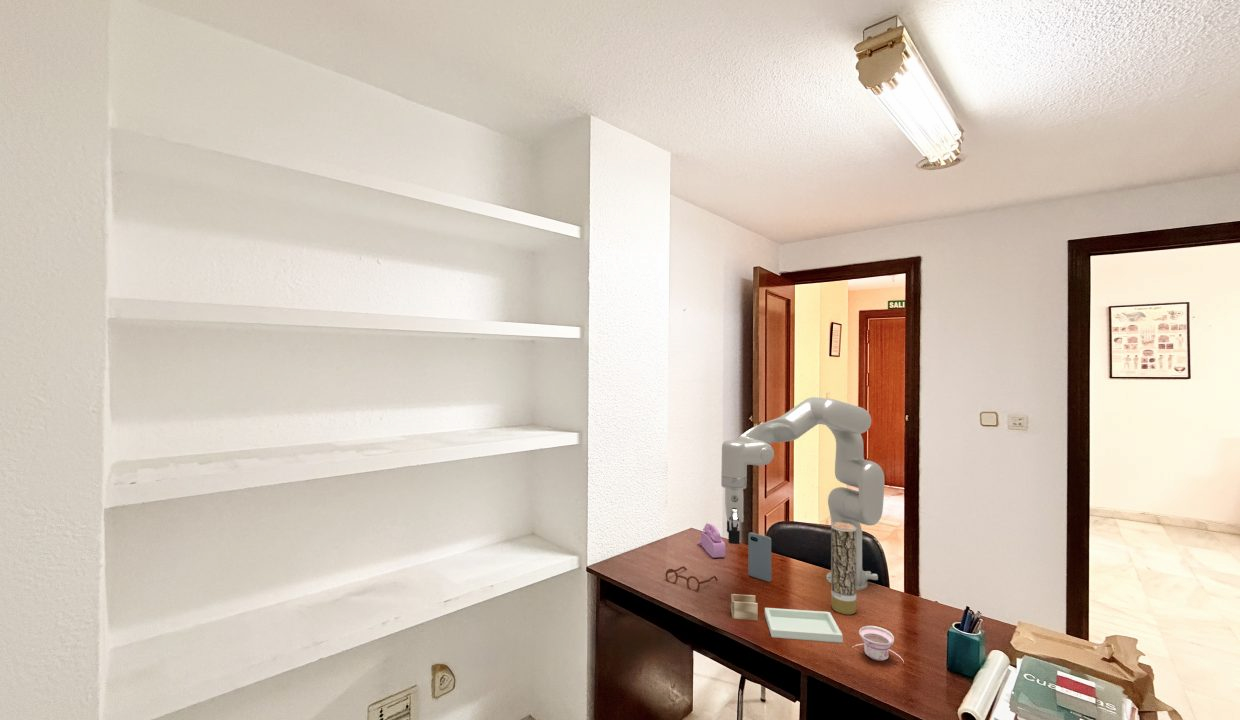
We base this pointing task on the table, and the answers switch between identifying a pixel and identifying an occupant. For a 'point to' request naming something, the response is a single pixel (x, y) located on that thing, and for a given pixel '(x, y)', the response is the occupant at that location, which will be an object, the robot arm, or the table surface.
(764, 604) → the table surface
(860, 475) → the robot arm
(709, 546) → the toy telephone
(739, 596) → the beige open holder
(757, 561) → the smartphone
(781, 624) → the tray
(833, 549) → the paper tube
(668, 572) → the glasses
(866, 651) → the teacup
